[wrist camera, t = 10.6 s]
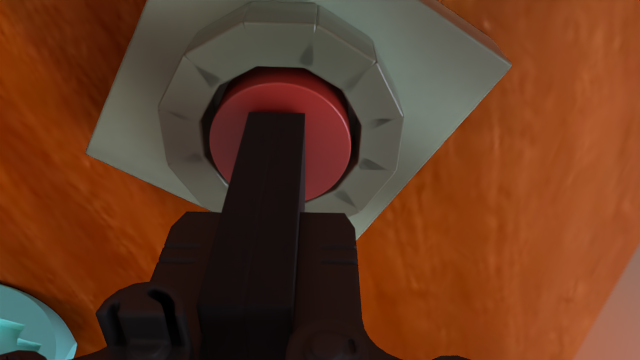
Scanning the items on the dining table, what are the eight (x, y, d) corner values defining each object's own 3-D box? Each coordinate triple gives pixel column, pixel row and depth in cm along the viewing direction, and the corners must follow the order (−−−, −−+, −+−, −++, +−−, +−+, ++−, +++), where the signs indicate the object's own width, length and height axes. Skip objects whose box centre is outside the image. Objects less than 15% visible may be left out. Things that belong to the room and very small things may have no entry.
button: (257, 31, 14) (249, 54, 12) (374, 100, 15) (379, 128, 14) (198, 136, 16) (186, 167, 14) (306, 190, 17) (304, 223, 15)
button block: (221, -150, 14) (188, -145, 10) (493, 39, 16) (535, 91, 13) (106, 123, 18) (60, 185, 15) (332, 231, 21) (333, 303, 18)
